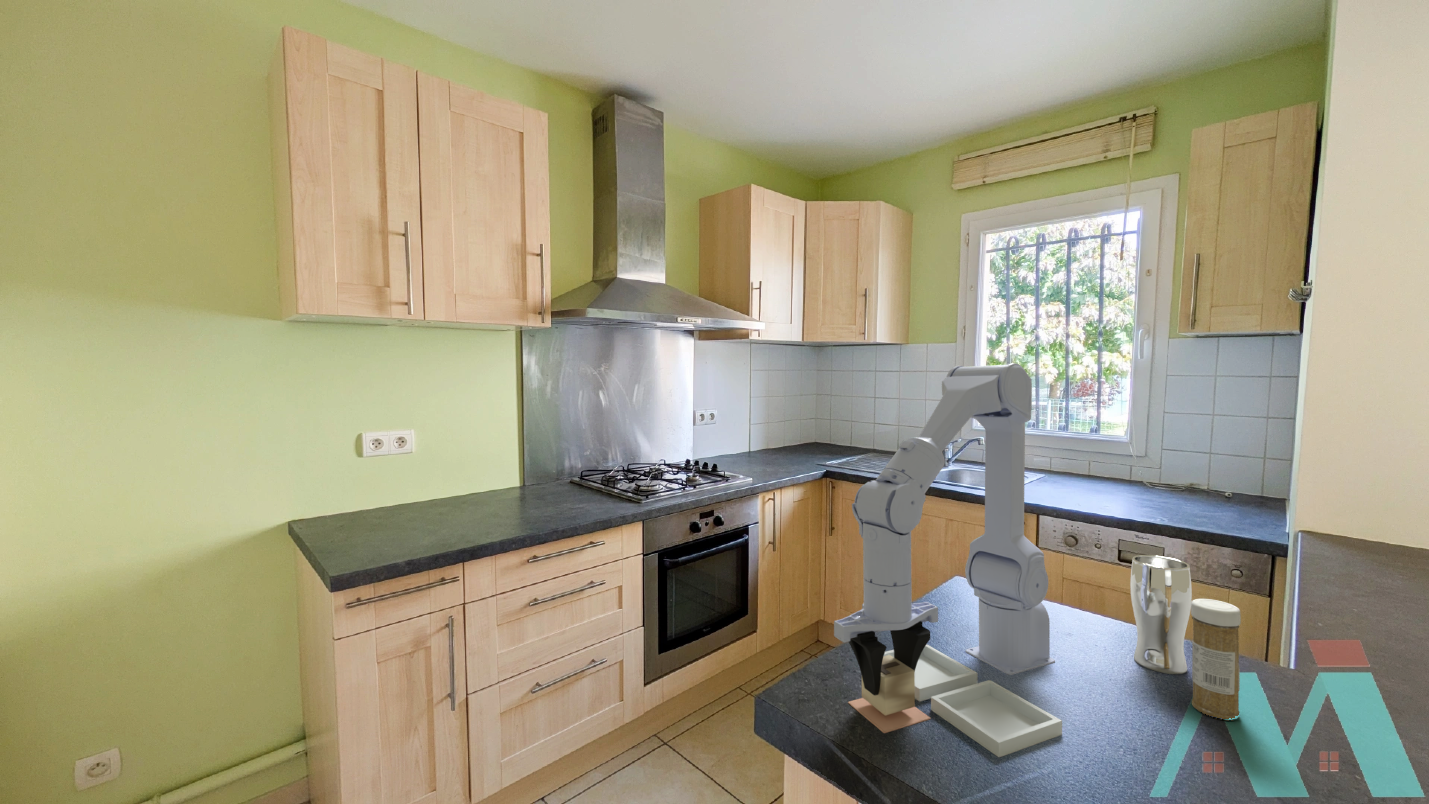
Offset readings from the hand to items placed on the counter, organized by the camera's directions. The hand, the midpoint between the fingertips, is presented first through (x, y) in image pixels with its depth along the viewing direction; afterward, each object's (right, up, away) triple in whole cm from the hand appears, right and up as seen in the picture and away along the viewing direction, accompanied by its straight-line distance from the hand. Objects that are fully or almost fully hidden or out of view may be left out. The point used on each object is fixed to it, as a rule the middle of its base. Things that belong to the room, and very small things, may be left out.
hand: (888, 686), depth 70 cm
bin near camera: (+12, -3, -3) cm, 13 cm away
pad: (0, -3, 0) cm, 3 cm away
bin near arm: (+7, -3, +9) cm, 12 cm away
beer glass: (+43, -3, +11) cm, 45 cm away
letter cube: (0, -2, 0) cm, 2 cm away
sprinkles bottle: (+40, -3, -1) cm, 40 cm away
